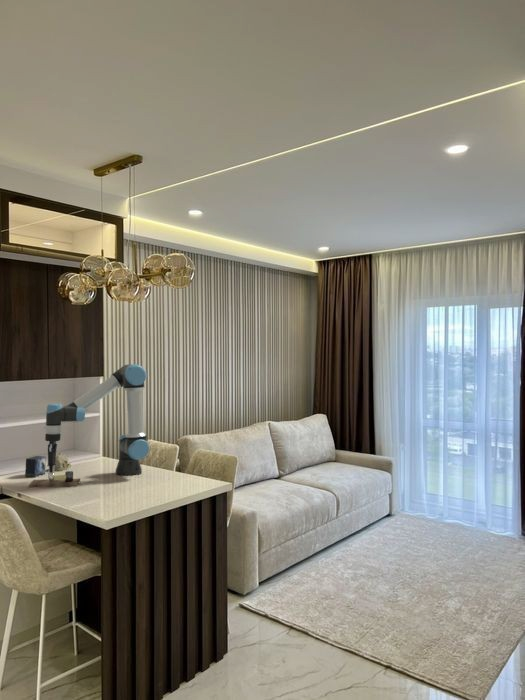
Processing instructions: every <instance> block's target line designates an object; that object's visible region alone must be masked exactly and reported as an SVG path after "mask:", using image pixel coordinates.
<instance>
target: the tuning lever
mask: <svg viewBox="0 0 525 700" xmlns="http://www.w3.org/2000/svg"><path fill="white" fill-rule="evenodd" d="M64 473H65V474H58V475H55V472H54V473H49V478H48V479H49V481H50V482H52V481H54V480H61V479H65V481H73V479H74V471H72V470H66V471H64Z"/></svg>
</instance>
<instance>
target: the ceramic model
mask: <svg viewBox="0 0 525 700" xmlns="http://www.w3.org/2000/svg"><path fill="white" fill-rule="evenodd" d="M55 464H56V465H55V466H54V472H64V471H63V470H66V471H68V470H70V469H71V467H72V465H71V463H69V459H68V457H67V456H66V455H65V454H64V453H61V452H60V453H59V452H58V454H56V460H55ZM69 468H70V469H69ZM67 469H68V470H67Z"/></svg>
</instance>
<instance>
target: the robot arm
mask: <svg viewBox="0 0 525 700" xmlns="http://www.w3.org/2000/svg"><path fill="white" fill-rule="evenodd" d="M146 379H147V371H146V369H145V368H144V367H143V366H141V365H139V364H137V363H135V364H134V363H132V364H128V363H127V364H125V365H122V366H121V367H120V368H118V369H117V370H116V371H114V372H113V373H112V374H110V376H109V378H107V379H105V380H104V381H103V382H101V383H99V384H98V385H97V386H94V387H93V388H92V389H90V390H89V391H87V392H86V393H84V394H83V395H81V396H79V397H78V398H77V399H75V400H74V401H72V402H71V403H69V404H67V405H64V406H63V405H62V404H61V403H49V404H48V405H47V406H46V416H45V427H44V429H45V437H44V440H45V441H46V442H49V443H48V444H47V464H46V466H47V467H48V469H47V473H48V477H47V478H48V479H49V473H54V474H55V471H54V466H55V465H56V464H55V460H56V457H57V447H58V443H57V442H59V441H61V435H62V434H61V432H62V423H63V422H64V423H65V422H66V423H67V422H83V421H85V418H86V410H87V409H88V408H90V407H91V406H93V405H94V404H96V403H98V402H99V401H101V400H102V399H103V398H105V397H106V396H108V395H109V394H111V393H112V392H114V391H115V390H116V389H121V388H123V390H124V391H125V393H126V411H127V413H126V414H127V415H126V416H127V431H128V433H127V434H121V435H119V440H118V443H119V444H118V447H119V448H118V462H117V465H116V468H115V473H116V475H117V476H136V475H135V474H138V475H140V473H141V474H142V473H143V472H142V470H143V468H142V466H141V462H140V461H141V460H143V459H144V458H147V456H148V454H149V452H150V445H149V443H148V441H147V433H145V431H144V412H143V411H144V409H143V407H144V406H143V390H144V388H145V381H146Z"/></svg>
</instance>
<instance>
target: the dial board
mask: <svg viewBox="0 0 525 700" xmlns="http://www.w3.org/2000/svg"><path fill="white" fill-rule="evenodd" d="M79 482H81V478H73V481H65V479H61V480H54V481H52V482H50V481H49V478H48V479H47V478H46V479H32V481H31V482H30V483H29V484H28V487H39V488H66V487H69V486H70V487H71V486H74V487H78V486H79V484H80V483H79ZM28 487H27V488H28ZM71 488H72V487H71Z"/></svg>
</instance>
